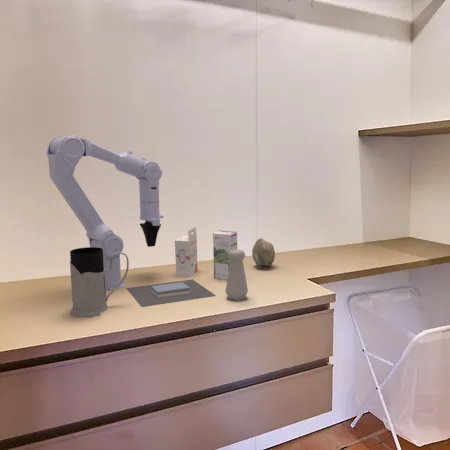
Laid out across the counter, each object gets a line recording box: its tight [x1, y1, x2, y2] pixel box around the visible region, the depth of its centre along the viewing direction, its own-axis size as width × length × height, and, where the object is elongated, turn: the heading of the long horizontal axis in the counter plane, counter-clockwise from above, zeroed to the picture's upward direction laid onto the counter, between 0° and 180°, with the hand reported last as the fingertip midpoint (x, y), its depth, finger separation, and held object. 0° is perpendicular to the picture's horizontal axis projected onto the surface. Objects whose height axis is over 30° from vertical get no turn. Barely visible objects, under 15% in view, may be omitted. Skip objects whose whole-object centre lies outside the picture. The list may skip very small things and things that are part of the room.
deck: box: [151, 282, 190, 298], centre depth 121 cm, size 9×2×6 cm
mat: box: [125, 278, 217, 308], centre depth 122 cm, size 20×18×1 cm
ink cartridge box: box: [174, 226, 198, 278], centre depth 141 cm, size 9×5×15 cm, turn 168°
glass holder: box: [69, 246, 130, 318], centre depth 109 cm, size 9×14×15 cm, turn 114°
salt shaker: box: [224, 249, 249, 302], centre depth 115 cm, size 6×6×13 cm
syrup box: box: [212, 229, 238, 281], centre depth 135 cm, size 6×6×14 cm
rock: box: [251, 237, 276, 268], centre depth 149 cm, size 9×8×10 cm
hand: (151, 246), depth 137 cm, fingers closed
